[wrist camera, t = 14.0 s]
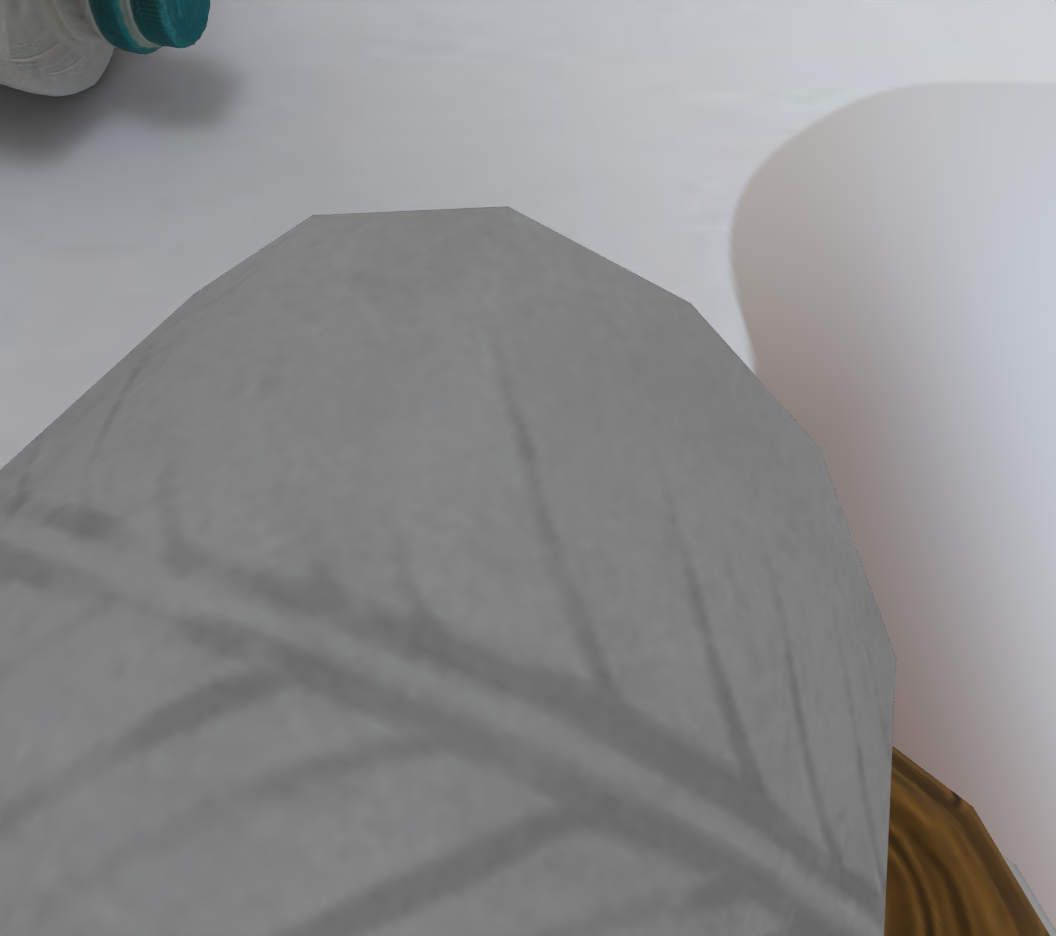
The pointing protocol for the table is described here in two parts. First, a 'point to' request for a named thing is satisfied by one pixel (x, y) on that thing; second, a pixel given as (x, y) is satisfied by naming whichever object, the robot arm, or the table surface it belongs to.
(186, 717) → the purple potion bottle
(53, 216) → the table surface
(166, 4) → the crushed plastic bottle
